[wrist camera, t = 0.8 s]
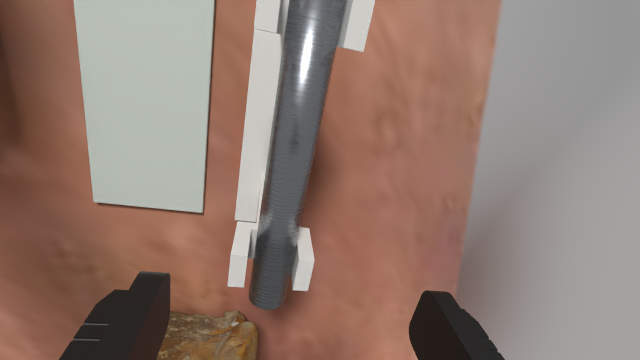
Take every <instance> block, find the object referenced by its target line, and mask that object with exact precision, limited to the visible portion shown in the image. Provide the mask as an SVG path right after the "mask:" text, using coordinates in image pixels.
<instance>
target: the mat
mask: <svg viewBox="0 0 640 360" xmlns="http://www.w3.org/2000/svg"><path fill="white" fill-rule="evenodd" d="M74 9H75V19H76V29H77V39H78V49H79V60H80V70H81V80H82V90H83V100H84V110H85V120H86V130H87V140H88V150H89V160H90V170H91V181H92V191H93V201H94V202H99V203H109V204H119V205H129V206H139V207H149V208H159V209H169V210H179V211H189V212H199V213H202V212H203V207H204V189H205V171H206V154H207V136H208V118H209V101H210V83H211V65H212V48H213V30H214V12H215V0H74Z"/></svg>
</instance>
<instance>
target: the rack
mask: <svg viewBox="0 0 640 360" xmlns="http://www.w3.org/2000/svg"><path fill="white" fill-rule="evenodd" d="M374 4H375V0H345V4H344V9H343V14H342V19H341V24H340V29H339V34H338V39H337V44H336V47H341V48H345V49H350V50H356V51H361V52H363V51H364V47H365V42H366V38H367V34H368V29H369V25H370V21H371V17H372V12H373V8H374ZM288 6H289V0H257V4H256V13H255V23H254V38H253V48H252V58H251V67H250V77H249V87H248V96H247V106H246V116H245V126H244V135H243V145H242V155H241V164H240V174H239V184H238V193H237V203H236V213H235V220H240V221H250V222H240V221H238V222H237V227H236V232H235V237H234V241H233V246H232V251H231V257H230V267H229V277H228V286H229V287H244V281H245V273H246V265H247V258H252V259H254V252H255V245H256V238H257V230H258V223H259V216H260V209H261V201H262V194H263V187H264V180H265V173H266V165H267V158H268V151H269V144H270V136H271V129H272V122H273V115H274V107H275V100H276V93H277V86H278V78H279V71H280V64H281V57H282V49H283V42H284V35H285V28H286V21H287V13H288ZM251 222H256V223H251ZM314 261H315V260H314V254H313V249H312V243H311V237H310V231H309V228H302V227H300V229H299V234H298V239H297V244H296V249H295V254H294V259H293V264H292V269H291V272H292V287H293V290H298V291H308V287H309V283H310V279H311V274H312V270H313V266H314Z"/></svg>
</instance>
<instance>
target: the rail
mask: <svg viewBox="0 0 640 360" xmlns="http://www.w3.org/2000/svg"><path fill="white" fill-rule="evenodd" d="M344 4H345V0H289V6H288V13H287V21H286V28H285V35H284V42H283V49H282V57H281V64H280V71H279V78H278V86H277V93H276V100H275V107H274V115H273V122H272V129H271V136H270V144H269V151H268V158H267V165H266V173H265V180H264V187H263V194H262V201H261V209H260V216H259V223H258V230H257V238H256V245H255V252H254V259H253V267H252V274H251V281H250V288H249V299H250V301H251V303H252V304H253V305H255V306H256V307H258V308H261V309H265V310H271V309H276V308H278V307H280V306H281V305H282V304H283V303H284V302H285V299H286V294H287V289H288V284H289V279H290V274H291V269H292V264H293V259H294V254H295V249H296V244H297V239H298V234H299V229H300V224H301V219H302V214H303V209H304V204H305V199H306V194H307V189H308V184H309V179H310V174H311V169H312V164H313V159H314V154H315V149H316V144H317V139H318V134H319V129H320V124H321V119H322V114H323V109H324V104H325V99H326V94H327V89H328V84H329V79H330V74H331V69H332V64H333V59H334V54H335V49H336V44H337V39H338V34H339V29H340V24H341V19H342V14H343V9H344Z"/></svg>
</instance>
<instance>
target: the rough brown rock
mask: <svg viewBox="0 0 640 360" xmlns="http://www.w3.org/2000/svg"><path fill="white" fill-rule="evenodd" d="M258 334H259V333H258V330H257V328H256V326H255V324H254V323H252V322H249V321H247V322H246V321H245V318H244V316H243V314H241V313H240V312H239V311H238V310H235V311H229V312H225V314H224V315H223V317H222V318H218V317H213V316H208V315H200V314H196V315H192V316H189V315H187V314H183V313H180V312H172V311H170V317H169V323H168V327H167V331H166V334H165V337H164V340H163V342H162V345H161V348H160V350H159V353H158V356H157V358H156V360H255V359H256V354H257V344H258Z"/></svg>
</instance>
